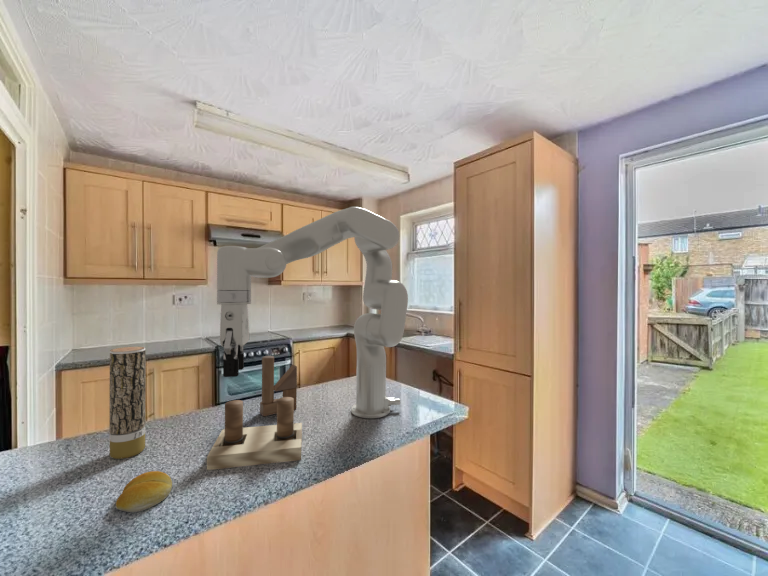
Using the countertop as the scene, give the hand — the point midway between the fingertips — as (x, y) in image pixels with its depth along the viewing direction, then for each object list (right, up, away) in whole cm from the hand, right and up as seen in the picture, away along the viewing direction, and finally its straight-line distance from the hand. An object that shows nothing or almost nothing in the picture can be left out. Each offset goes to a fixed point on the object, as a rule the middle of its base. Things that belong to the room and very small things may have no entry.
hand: (233, 372), depth 80 cm
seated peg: (+12, -20, +3) cm, 23 cm away
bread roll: (-9, -20, -17) cm, 28 cm away
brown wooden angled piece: (+2, -20, +26) cm, 33 cm away
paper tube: (-25, -20, -1) cm, 32 cm away
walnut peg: (0, -20, 0) cm, 20 cm away
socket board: (+6, -20, +1) cm, 20 cm away
